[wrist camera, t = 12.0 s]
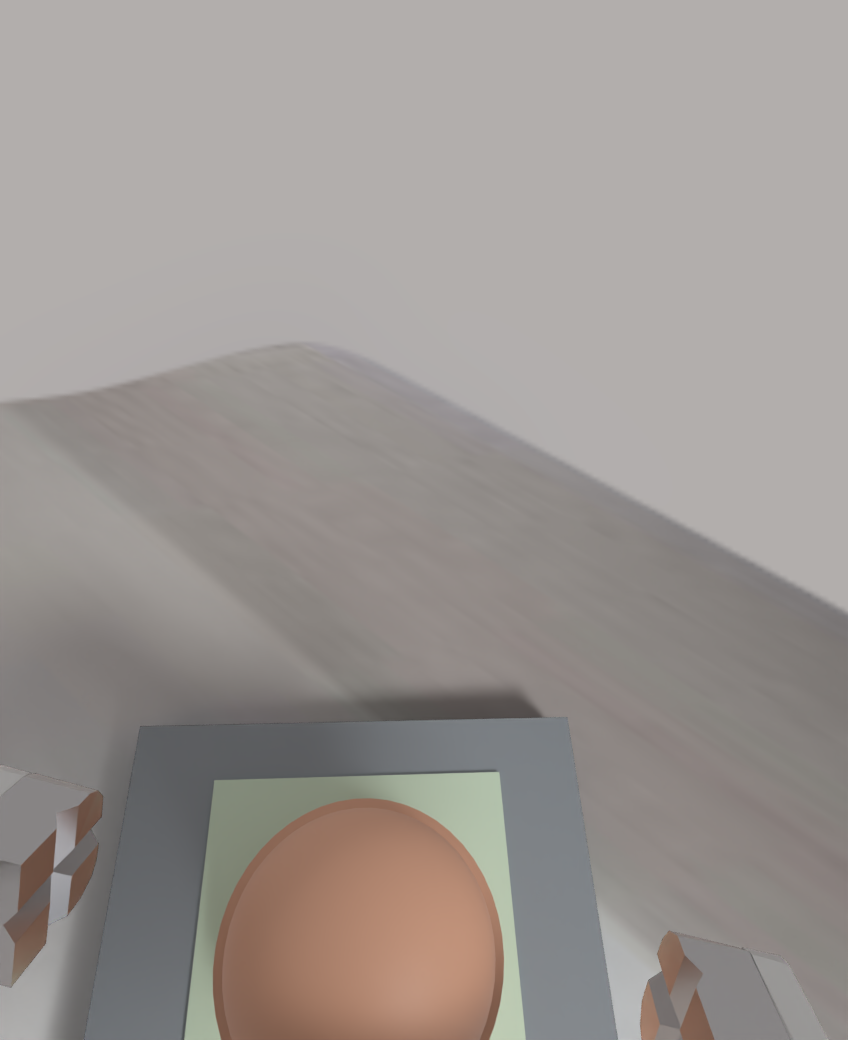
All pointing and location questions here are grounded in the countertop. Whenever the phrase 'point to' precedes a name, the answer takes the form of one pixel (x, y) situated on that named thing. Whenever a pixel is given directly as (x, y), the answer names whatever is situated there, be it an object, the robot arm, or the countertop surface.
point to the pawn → (360, 933)
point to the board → (324, 780)
